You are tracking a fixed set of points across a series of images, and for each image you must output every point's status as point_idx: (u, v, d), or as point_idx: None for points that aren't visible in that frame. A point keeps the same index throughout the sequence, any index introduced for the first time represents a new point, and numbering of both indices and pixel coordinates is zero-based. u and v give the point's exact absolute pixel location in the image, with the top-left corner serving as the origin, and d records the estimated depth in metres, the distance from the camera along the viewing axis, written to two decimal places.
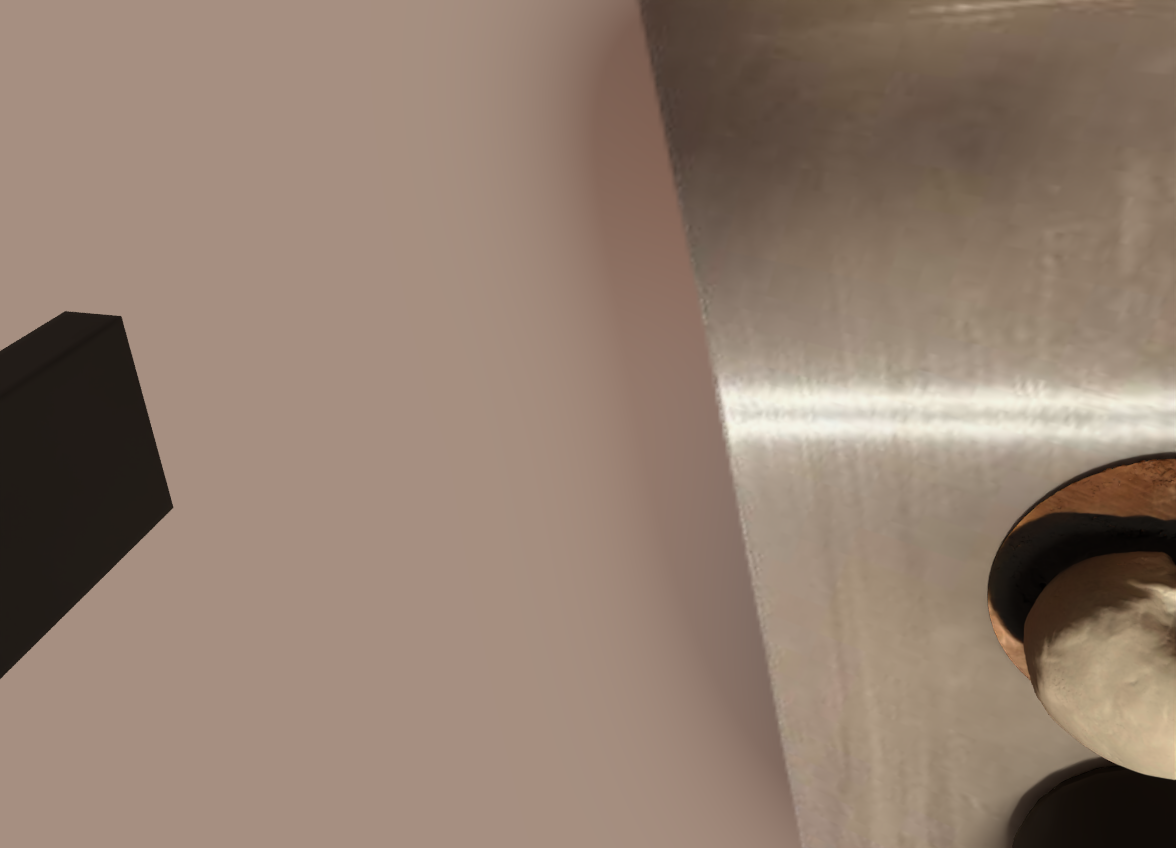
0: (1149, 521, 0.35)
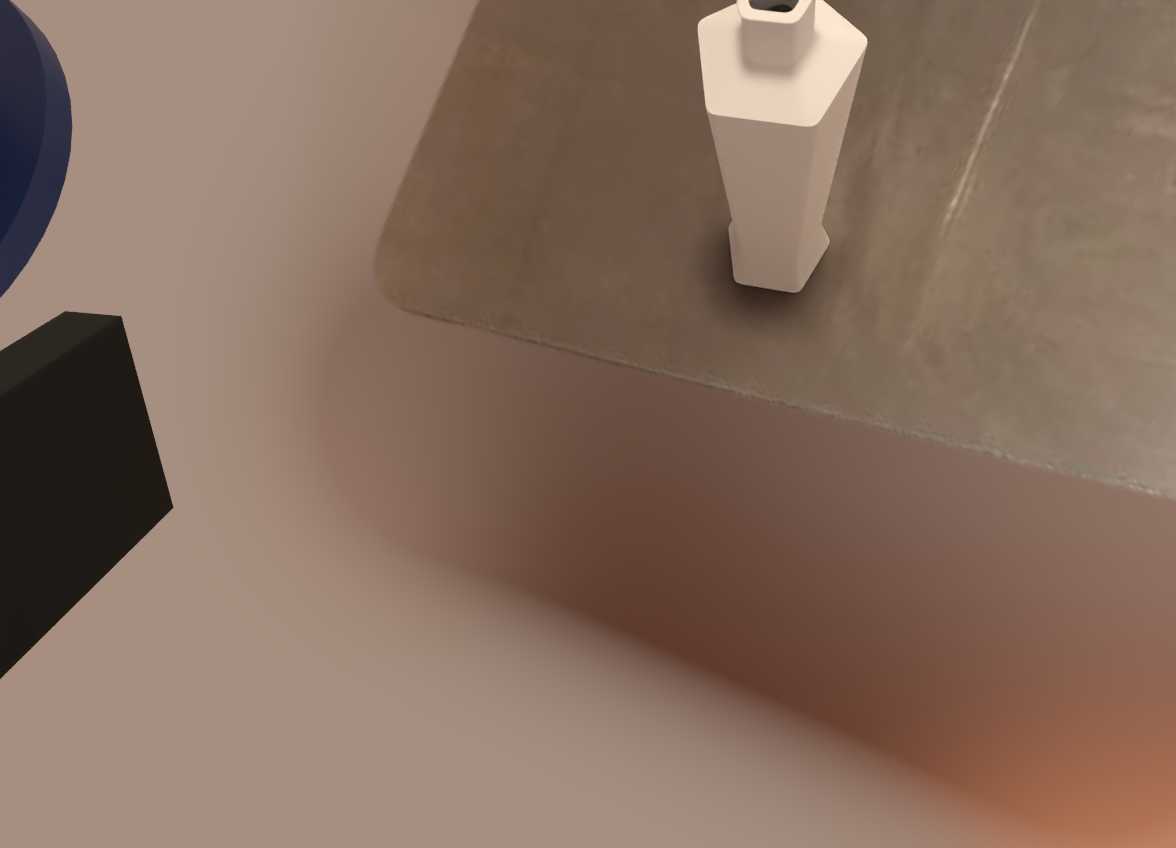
0: None
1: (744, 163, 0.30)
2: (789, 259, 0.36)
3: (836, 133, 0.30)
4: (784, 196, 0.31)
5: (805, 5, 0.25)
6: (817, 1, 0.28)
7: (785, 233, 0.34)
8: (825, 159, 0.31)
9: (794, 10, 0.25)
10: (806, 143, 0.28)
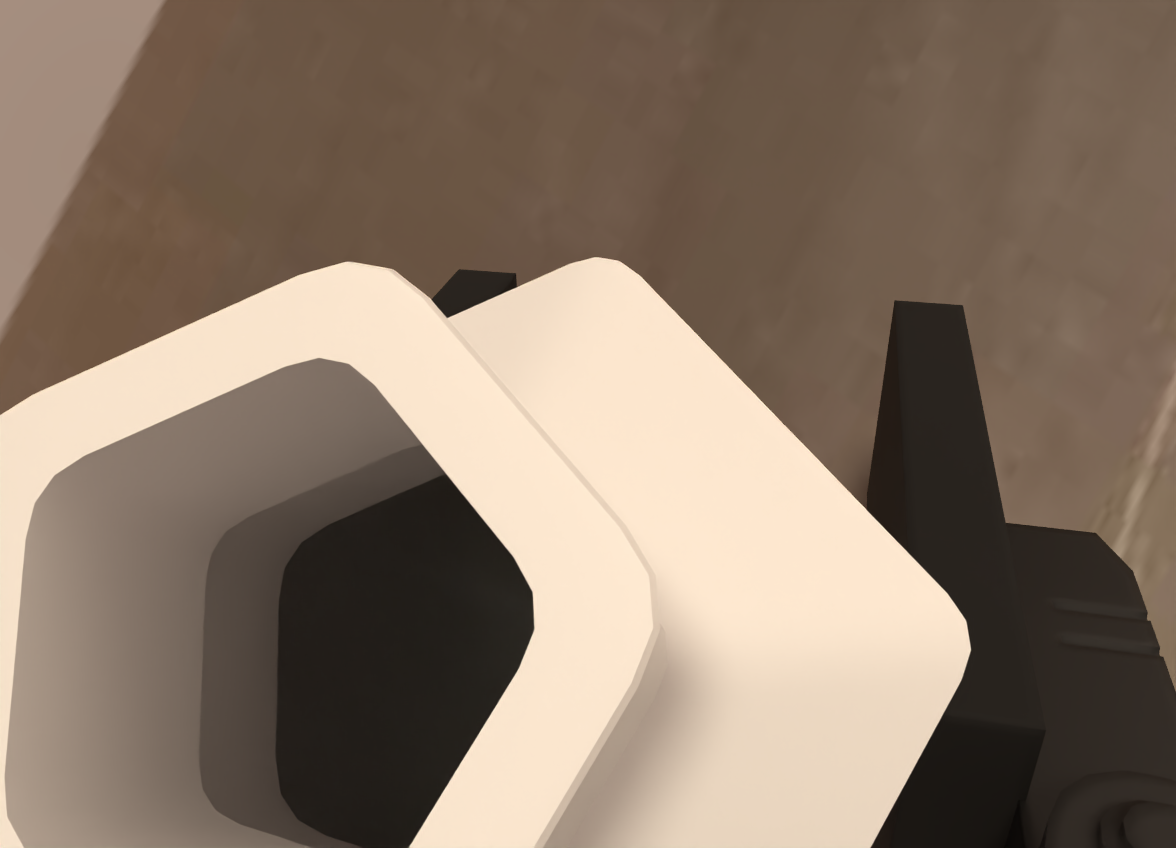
0: None
1: None
2: None
3: None
4: None
5: None
6: (710, 394, 0.05)
7: None
8: None
9: None
10: None
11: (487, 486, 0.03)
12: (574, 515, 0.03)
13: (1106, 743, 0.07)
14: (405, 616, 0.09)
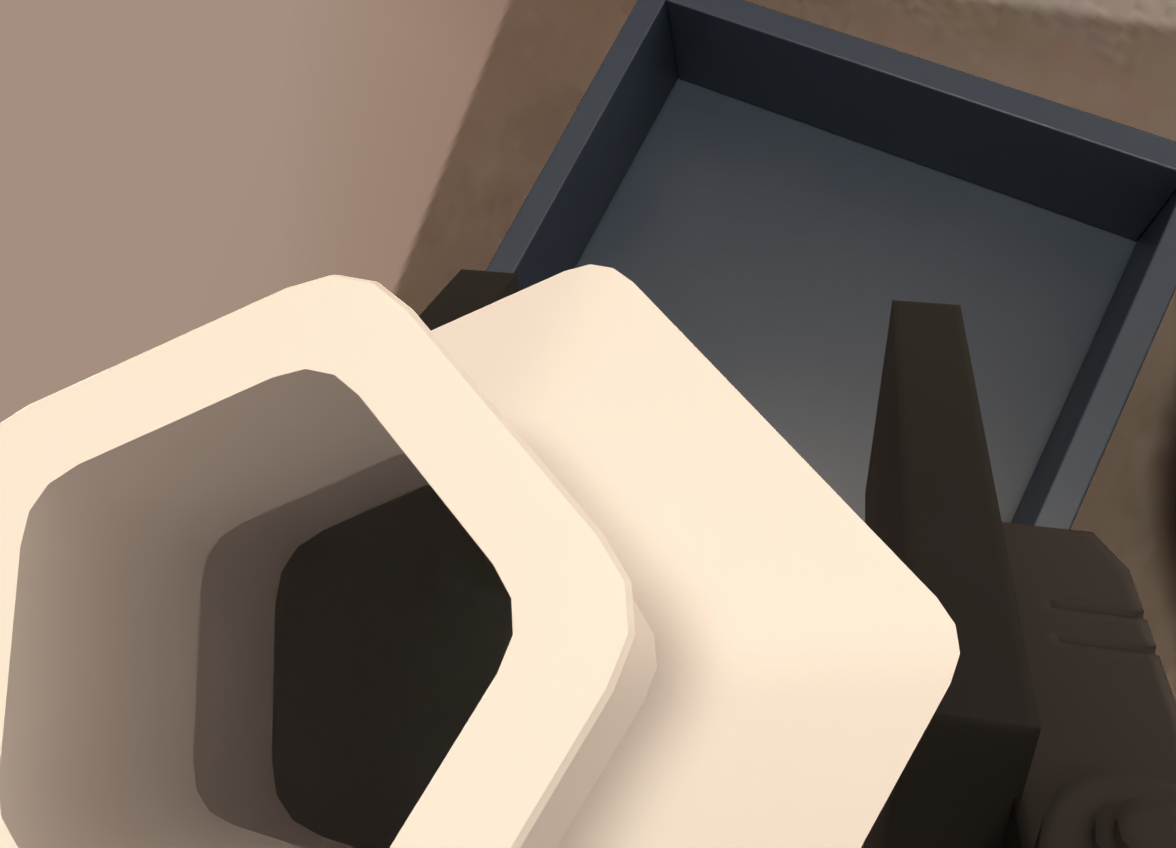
0: None
1: None
2: None
3: None
4: None
5: None
6: (702, 400, 0.06)
7: None
8: None
9: None
10: None
11: (468, 495, 0.03)
12: (552, 523, 0.03)
13: (1101, 742, 0.07)
14: (406, 618, 0.09)
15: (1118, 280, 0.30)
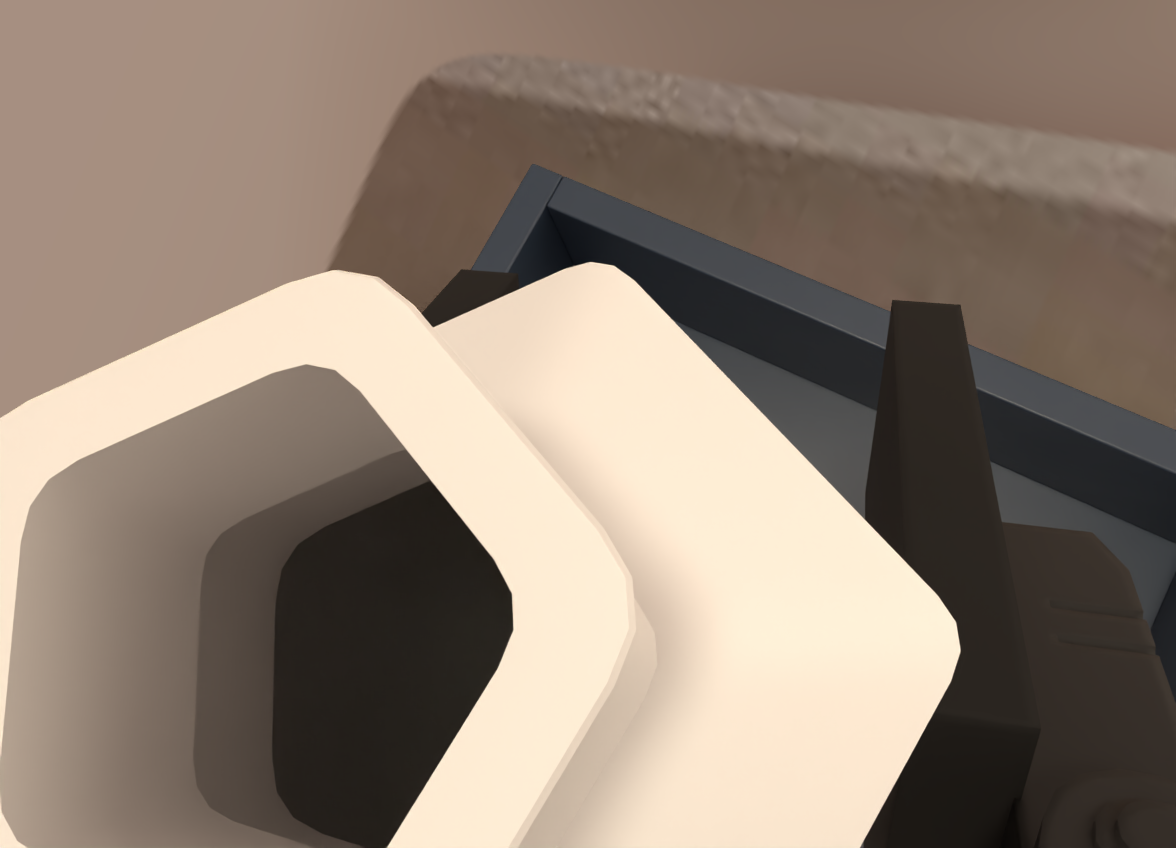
0: None
1: None
2: None
3: None
4: None
5: None
6: (703, 398, 0.06)
7: None
8: None
9: None
10: None
11: (469, 490, 0.03)
12: (553, 518, 0.03)
13: (1101, 741, 0.07)
14: (406, 617, 0.09)
15: (1160, 603, 0.22)
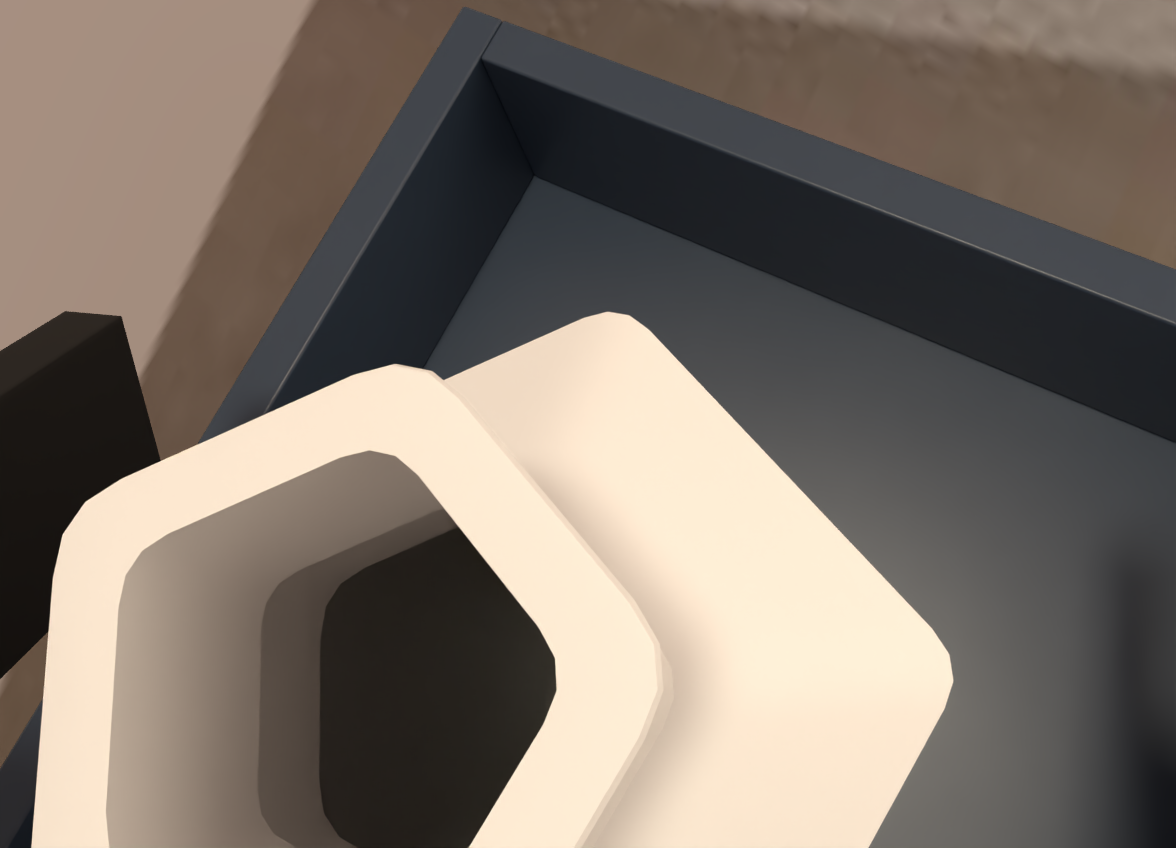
0: None
1: None
2: None
3: None
4: None
5: None
6: (713, 443, 0.06)
7: None
8: None
9: None
10: None
11: (515, 564, 0.03)
12: (590, 592, 0.03)
13: None
14: (427, 632, 0.10)
15: None
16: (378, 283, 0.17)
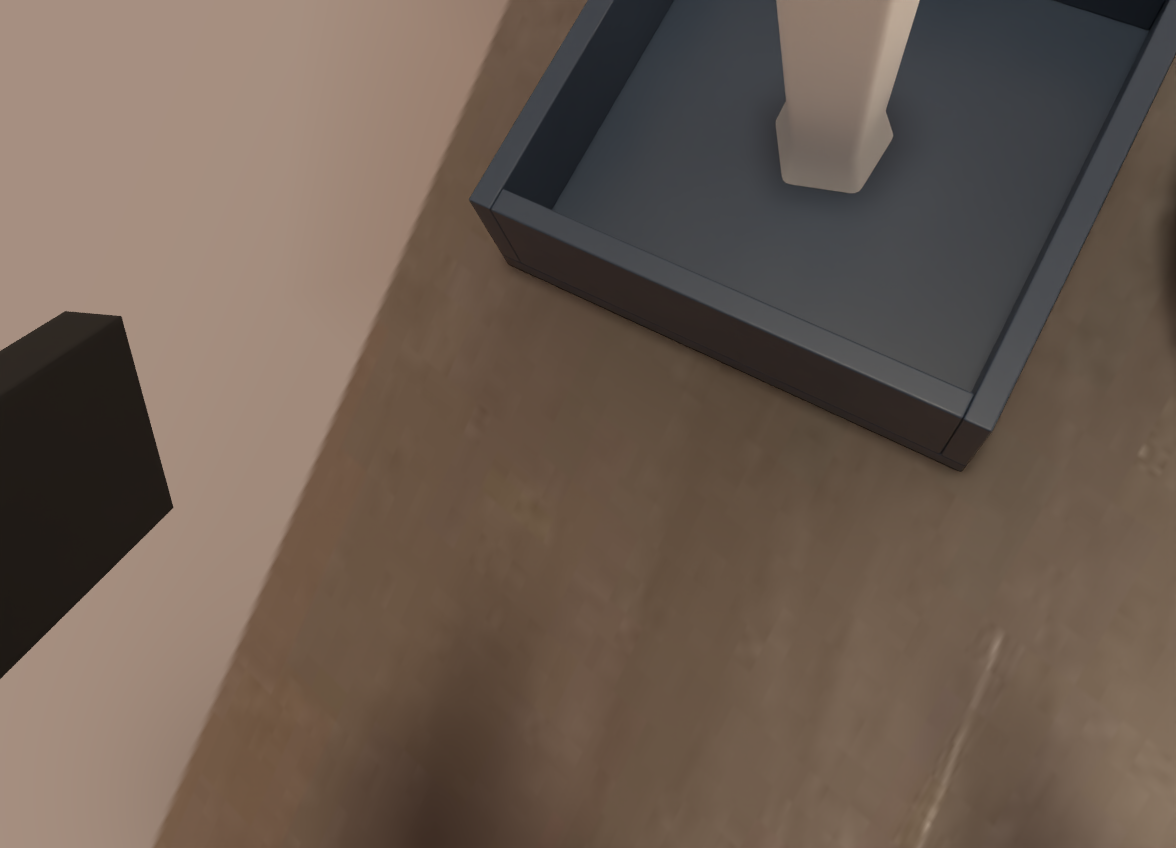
0: None
1: (812, 1, 0.25)
2: (850, 148, 0.31)
3: None
4: (855, 51, 0.26)
5: None
6: None
7: (849, 108, 0.29)
8: (906, 3, 0.26)
9: None
10: None
11: None
12: None
13: None
14: None
15: (1131, 64, 0.33)
16: None
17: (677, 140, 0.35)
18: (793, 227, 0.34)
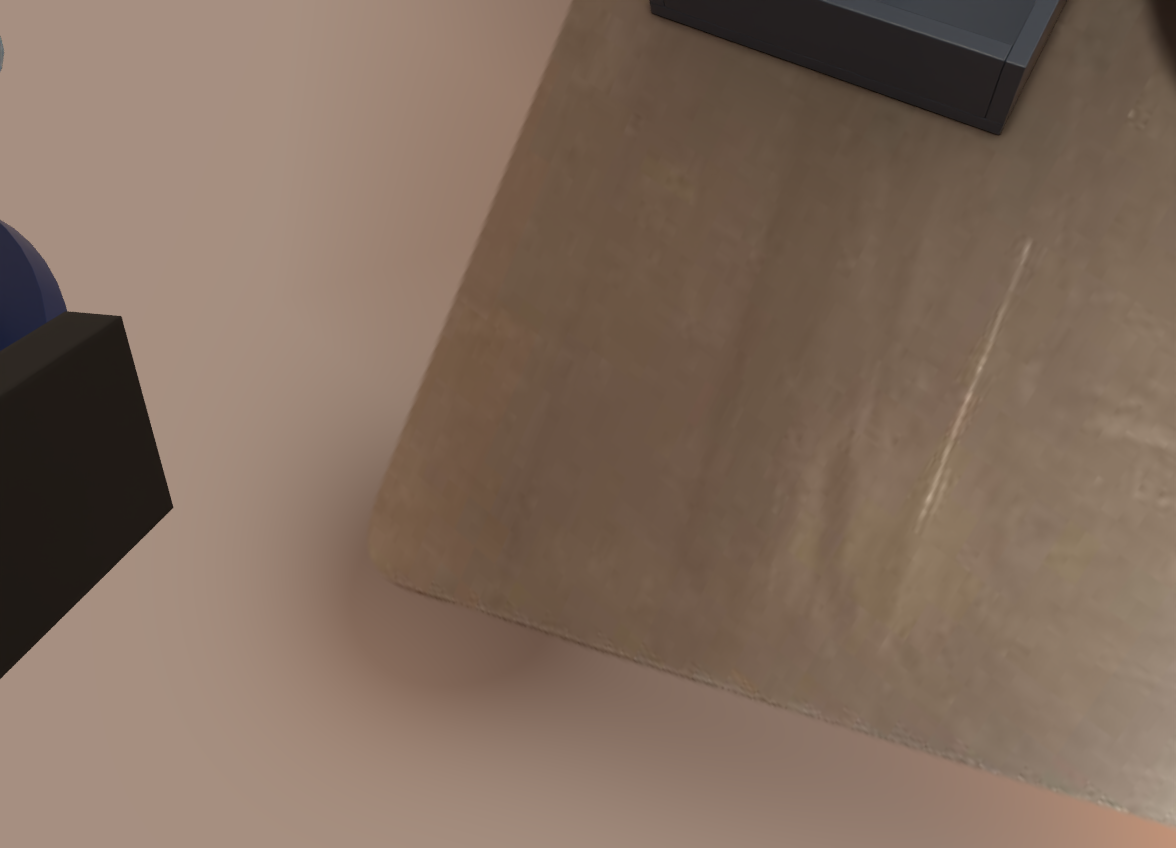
0: None
1: None
2: None
3: None
4: None
5: None
6: None
7: None
8: None
9: None
10: None
11: None
12: None
13: None
14: None
15: None
16: None
17: None
18: None
